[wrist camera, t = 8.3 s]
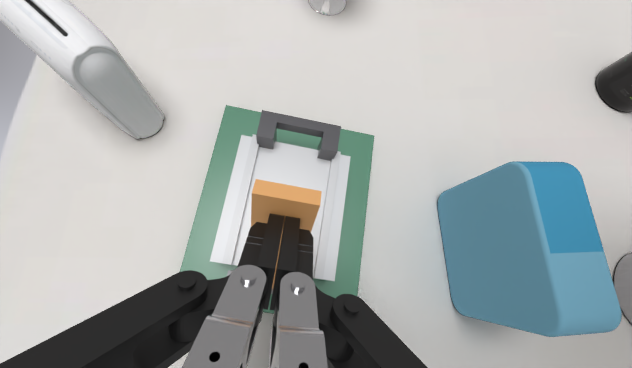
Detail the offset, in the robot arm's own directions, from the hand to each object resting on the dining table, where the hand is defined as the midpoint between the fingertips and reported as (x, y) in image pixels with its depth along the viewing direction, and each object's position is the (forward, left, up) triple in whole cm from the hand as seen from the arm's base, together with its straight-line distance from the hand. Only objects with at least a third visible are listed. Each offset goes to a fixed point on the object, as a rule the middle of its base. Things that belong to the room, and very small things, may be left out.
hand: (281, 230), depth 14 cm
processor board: (+3, -2, -15) cm, 15 cm away
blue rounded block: (-10, -16, -15) cm, 24 cm away
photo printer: (+21, +7, -15) cm, 27 cm away
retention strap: (-2, +2, -9) cm, 10 cm away
